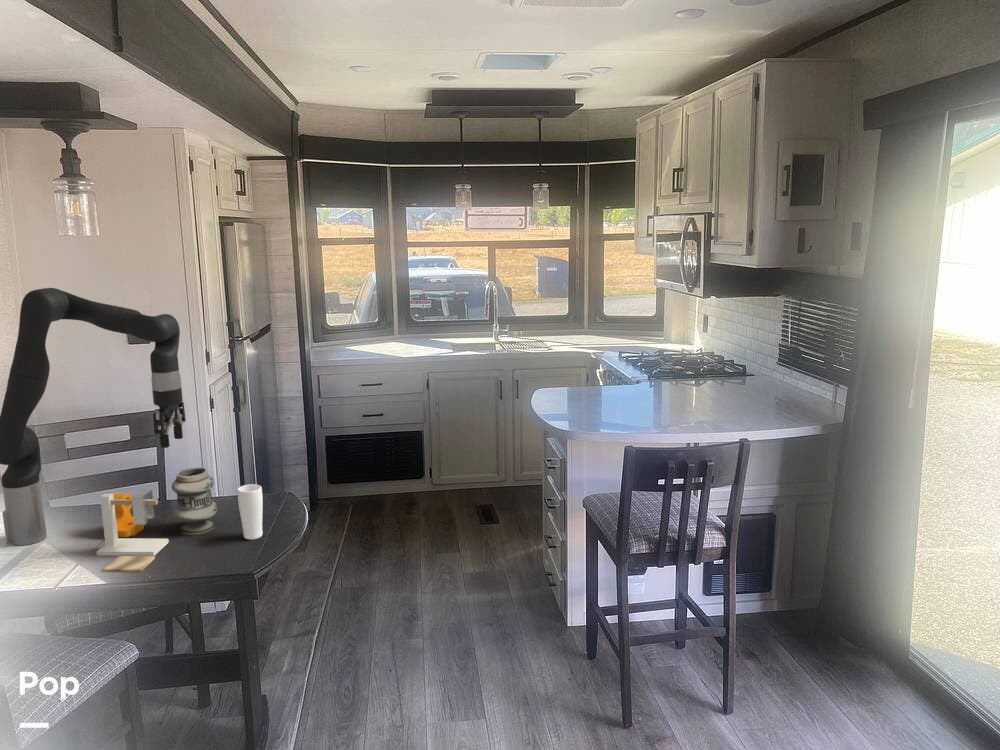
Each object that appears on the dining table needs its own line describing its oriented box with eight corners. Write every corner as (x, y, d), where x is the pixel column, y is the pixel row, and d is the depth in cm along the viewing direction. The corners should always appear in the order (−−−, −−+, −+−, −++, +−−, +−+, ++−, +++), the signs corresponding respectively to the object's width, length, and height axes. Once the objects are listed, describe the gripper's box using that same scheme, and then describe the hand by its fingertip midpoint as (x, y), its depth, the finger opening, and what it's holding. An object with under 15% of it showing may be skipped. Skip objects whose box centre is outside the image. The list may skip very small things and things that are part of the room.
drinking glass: (255, 542, 221) (252, 493, 218) (236, 539, 223) (232, 490, 220) (270, 533, 228) (266, 485, 225) (250, 530, 230) (247, 482, 227)
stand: (97, 555, 213) (90, 500, 210) (113, 542, 222) (108, 489, 219) (154, 555, 213) (148, 501, 210) (168, 542, 222) (163, 489, 219)
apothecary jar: (170, 527, 233) (164, 470, 229) (209, 517, 240) (204, 462, 237) (184, 539, 224) (179, 480, 220) (225, 528, 231) (220, 471, 228)
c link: (134, 524, 213) (131, 496, 212) (144, 516, 219) (141, 489, 217) (145, 524, 213) (142, 496, 211) (154, 516, 219) (151, 489, 217)
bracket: (128, 539, 224) (124, 500, 222) (104, 539, 225) (100, 499, 222) (148, 525, 235) (144, 487, 232) (125, 524, 235) (121, 487, 233)
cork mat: (103, 571, 204) (103, 569, 204) (119, 558, 212) (118, 556, 212) (140, 571, 204) (140, 569, 204) (155, 558, 212) (154, 556, 211)
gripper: (165, 381, 221) (170, 436, 225) (141, 392, 207) (146, 450, 211) (190, 381, 221) (195, 436, 224) (168, 392, 207) (174, 450, 210)
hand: (172, 442), depth 217 cm, fingers open, 8 cm apart
